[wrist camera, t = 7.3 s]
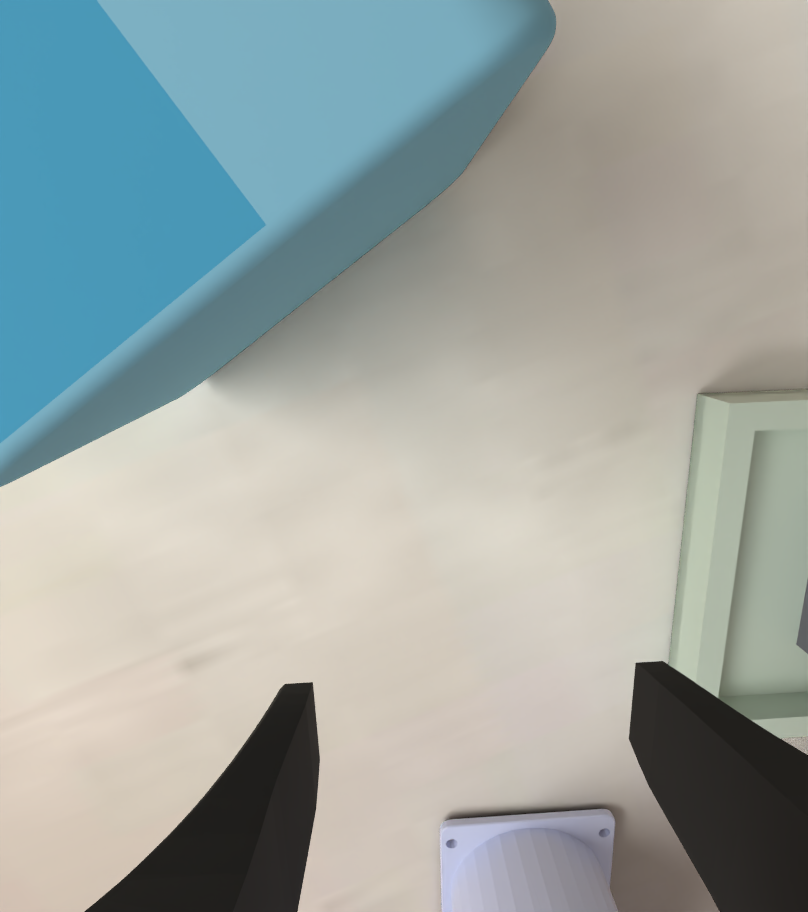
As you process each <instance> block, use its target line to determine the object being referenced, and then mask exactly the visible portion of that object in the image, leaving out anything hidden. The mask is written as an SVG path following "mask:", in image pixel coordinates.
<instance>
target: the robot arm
mask: <svg viewBox="0 0 808 912" xmlns="http://www.w3.org/2000/svg"><path fill="white" fill-rule="evenodd" d="M629 740H630V742H631V745H632V747H633V750H634V752H635V755H636V757H637V760H638V762H639V765H640V767H641V769H642V771H643V774H644V776H645V778H646V780H647V783H648V785H649V787H650V789H651V790H652V792H653V794H654V796H655V798H656V800H657V801H658V803H659V805H660V807H661V808H662V810H663V812H664V814H665V815H666V817H667V819H668V821H669V823H670V824H671V826H672V828H673V830H674V831H675V833H676V835H677V836H678V838H679V840H680V842H681V843H682V845H683V847H684V849H685V850H686V852H687V854H688V856H689V857H690V859H691V861H692V863H693V864H694V866H695V868H696V870H697V871H698V873H699V875H700V877H701V878H702V880H703V882H704V884H705V885H706V887H707V889H708V890H709V892H710V894H711V896H712V898H713V900H714V902H715V903H716V905H717V907H718V909H719V911H720V912H808V755H806V754H805V753H803V752H801V751H800V750H798V749H797V748H795V747H793V746H792V745H790V744H788V743H787V742H785V741H783V740H782V739H780V738H778V737H777V736H775V735H773V734H772V733H770V732H769V731H767V730H766V729H764V728H762V727H761V726H759V725H758V724H756V723H755V722H753V721H751V720H750V719H748V718H747V717H745V716H744V715H742V714H741V713H739V712H738V711H736V710H735V709H733V708H732V707H730V706H729V705H727V704H726V703H724V702H723V701H721V700H720V699H719V698H717V697H716V696H714V695H713V694H711V693H710V692H708V691H707V690H705V689H704V688H702V687H701V686H700V685H698V684H697V683H695V682H694V681H692V680H691V679H689V678H688V677H686V676H685V675H683V674H682V673H680V672H679V671H677V670H676V669H674V668H673V667H671V666H670V665H668V664H666V663H665V662H663V661H659V662H642V663H636V666H635V677H634V689H633V700H632V711H631V722H630V733H629ZM319 763H320V756H319V746H318V735H317V724H316V713H315V702H314V691H313V682H311V683H295V684H285V685H284V686H283V687H282V688H281V689H280V690H279V692H278V693H277V695H276V697H275V698H274V700H273V702H272V703H271V705H270V707H269V708H268V710H267V711H266V713H265V714H264V716H263V718H262V719H261V721H260V722H259V724H258V725H257V727H256V728H255V730H254V731H253V732H252V734H251V735H250V737H249V738H248V740H247V741H246V742H245V744H244V745H243V747H242V748H241V749H240V751H239V752H238V754H237V755H236V756H235V758H234V759H233V760H232V762H231V763H230V764H229V766H228V767H227V768H226V769H225V771H224V772H223V773H222V774H221V776H220V777H219V778H218V779H217V781H216V782H215V783H214V785H213V786H212V787H211V788H210V790H209V791H208V792H207V793H206V794H205V796H204V797H203V798H202V799H201V800H200V801H199V803H198V804H197V805H196V806H195V807H194V808H193V809H192V811H191V812H190V813H189V814H188V815H187V816H186V817H185V818H184V819H183V820H182V822H181V823H180V824H179V825H178V826H177V827H176V828H175V829H174V830H173V831H172V832H171V833H170V834H169V835H168V836H167V837H166V838H165V839H164V840H163V841H162V842H161V843H160V844H159V845H158V846H157V847H156V848H155V849H154V850H153V851H152V852H151V853H150V854H149V855H148V856H147V857H146V858H145V859H144V860H143V861H142V862H141V863H140V864H139V865H138V866H137V867H136V868H135V869H134V870H133V871H131V872H130V873H129V874H128V875H127V876H126V877H125V878H124V879H123V880H122V881H120V882H119V883H118V884H117V885H116V886H115V887H113V888H112V889H111V890H110V891H109V892H108V893H106V894H105V895H104V896H103V897H102V898H100V899H99V900H98V901H97V902H96V903H94V904H93V905H92V906H91V907H90V908H88V909H87V910H86V911H85V912H297V911H298V905H299V900H300V894H301V889H302V883H303V878H304V872H305V867H306V861H307V856H308V850H309V845H310V839H311V834H312V828H313V823H314V817H315V811H316V802H317V790H318V777H319ZM614 834H615V818H614V816H613V814H612V813H611V811H609V810H607V809H592V810H578V811H564V812H549V813H535V814H521V815H506V816H492V817H478V818H463V819H450V820H446V821H445V822H443V823H442V824H441V825H440V867H441V912H619V911H618V909H617V906H616V904H615V901H614V899H613V896H612V894H611V891H610V880H611V869H612V857H613V845H614ZM451 839H453V840H451Z"/></svg>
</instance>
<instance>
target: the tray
mask: <svg viewBox="0 0 808 912" xmlns="http://www.w3.org/2000/svg"><path fill="white" fill-rule="evenodd" d="M807 580H808V389H798V390H774V391H751V392H728V393H704V394H697V403H696V412H695V422H694V431H693V440H692V450H691V459H690V468H689V478H688V487H687V496H686V506H685V515H684V524H683V533H682V543H681V552H680V561H679V571H678V580H677V589H676V599H675V608H674V617H673V627H672V636H671V645H670V654H669V664H668V665H670V666H671V667H673V668H674V669H676V670H677V671H679V672H680V673H682V674H683V675H685V676H686V677H688V678H689V679H691V680H692V681H694V682H695V683H697V684H698V685H700V686H701V687H702V688H704V689H705V690H707V691H708V692H710V693H711V694H713V695H714V696H716V697H717V698H719V699H720V700H721V701H723V702H724V703H726V704H727V705H729V706H730V707H732V708H733V709H735V710H736V711H738V712H739V713H741V714H742V715H744V716H745V717H747V718H748V719H750V720H751V721H753V722H755V723H756V724H758V725H759V726H761V727H762V728H764V729H766V730H767V731H769V732H770V733H772V734H773V735H775V736H777V737H778V738H795V737H808V654H807V653H806V652H805V651H804V650H802V649H801V648H800V647H799V646H797V645H796V643H797V637H798V631H799V626H800V620H801V614H802V608H803V603H804V597H805V591H806V585H807Z"/></svg>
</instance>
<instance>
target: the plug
mask: <svg viewBox="0 0 808 912" xmlns="http://www.w3.org/2000/svg"><path fill="white" fill-rule="evenodd" d="M796 645H797V646H799V647H800V648H801V649H802V650H804V651H805V652H806V653H807V654H808V580H807V585H806V591H805V597H804V603H803V608H802V614H801V620H800V626H799V631H798V637H797V643H796Z"/></svg>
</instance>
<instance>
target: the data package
mask: <svg viewBox="0 0 808 912" xmlns="http://www.w3.org/2000/svg"><path fill="white" fill-rule="evenodd" d="M555 29H556V16H555V13H554V10H553V9H552V7H551V5H550V3H549V1H548V0H0V487H1V486H3V485H6V484H8V483H10V482H12V481H14V480H16V479H18V478H20V477H22V476H24V475H26V474H28V473H30V472H32V471H34V470H36V469H38V468H40V467H42V466H44V465H46V464H48V463H50V462H52V461H54V460H56V459H58V458H60V457H62V456H64V455H66V454H68V453H70V452H72V451H74V450H76V449H78V448H80V447H82V446H84V445H86V444H88V443H90V442H92V441H94V440H96V439H98V438H100V437H102V436H104V435H106V434H108V433H110V432H112V431H114V430H116V429H118V428H120V427H122V426H124V425H126V424H128V423H130V422H132V421H134V420H136V419H138V418H140V417H142V416H144V415H146V414H148V413H150V412H152V411H154V410H156V409H158V408H160V407H162V406H164V405H166V404H168V403H170V402H171V401H173V400H175V399H177V398H179V397H181V396H183V395H184V394H186V393H187V392H189V391H190V390H192V389H193V388H195V387H196V386H197V385H199V384H200V383H202V382H203V381H204V380H206V379H207V378H208V377H210V376H211V375H212V374H214V373H215V372H216V371H218V370H219V369H220V368H221V367H223V366H224V365H225V364H227V363H228V362H229V361H230V360H232V359H233V358H234V357H235V356H237V355H238V354H239V353H240V352H242V351H243V350H244V349H246V348H247V347H248V346H249V345H251V344H252V343H253V342H254V341H256V340H257V339H258V338H259V337H261V336H262V335H263V334H264V333H266V332H267V331H268V330H270V329H271V328H272V327H273V326H275V325H276V324H277V323H278V322H280V321H281V320H282V319H283V318H285V317H286V316H287V315H288V314H290V313H291V312H292V311H294V310H295V309H296V308H297V307H299V306H300V305H301V304H302V303H304V302H305V301H306V300H307V299H309V298H310V297H311V296H313V295H314V294H315V293H316V292H318V291H319V290H320V289H321V288H323V287H324V286H325V285H326V284H328V283H329V282H330V281H331V280H333V279H334V278H335V277H337V276H338V275H339V274H340V273H342V272H343V271H344V270H345V269H347V268H348V267H349V266H350V265H352V264H353V263H354V262H355V261H357V260H358V259H359V258H361V257H362V256H363V255H364V254H366V253H367V252H368V251H369V250H371V249H372V248H373V247H374V246H376V245H377V244H378V243H380V242H381V241H382V240H383V239H385V238H386V237H387V236H388V235H390V234H391V233H392V232H393V231H395V230H396V229H397V228H398V227H400V226H401V225H402V224H404V223H405V222H406V221H407V220H409V219H410V218H411V217H412V216H414V215H415V214H416V213H417V212H419V211H420V210H421V209H422V208H424V207H425V206H426V205H427V204H429V203H430V202H431V201H432V200H434V199H435V198H436V197H437V196H438V195H439V194H441V193H442V192H443V191H444V190H445V189H446V188H447V187H449V186H450V185H451V184H452V183H453V182H454V181H455V180H456V179H457V178H458V177H459V176H460V175H461V174H462V173H463V171H464V170H465V168H466V167H467V165H468V164H469V162H470V161H471V160H472V158H473V157H474V155H475V154H476V152H477V151H478V149H479V148H480V146H481V145H482V143H483V142H484V141H485V139H486V138H487V136H488V135H489V133H490V132H491V130H492V129H493V127H494V126H495V125H496V123H497V122H498V120H499V119H500V117H501V116H502V114H503V113H504V111H505V110H506V108H507V107H508V106H509V104H510V103H511V101H512V100H513V98H514V97H515V95H516V94H517V92H518V91H519V89H520V88H521V87H522V85H523V84H524V82H525V81H526V79H527V78H528V76H529V75H530V73H531V72H532V70H533V69H534V68H535V66H536V65H537V63H538V62H539V60H540V59H541V57H542V56H543V54H544V53H545V51H546V50H547V48H548V47H549V45H550V43H551V41H552V39H553V37H554V34H555Z"/></svg>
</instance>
